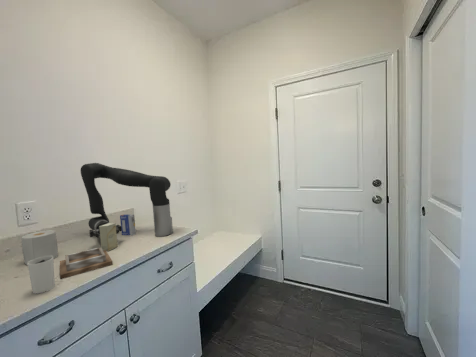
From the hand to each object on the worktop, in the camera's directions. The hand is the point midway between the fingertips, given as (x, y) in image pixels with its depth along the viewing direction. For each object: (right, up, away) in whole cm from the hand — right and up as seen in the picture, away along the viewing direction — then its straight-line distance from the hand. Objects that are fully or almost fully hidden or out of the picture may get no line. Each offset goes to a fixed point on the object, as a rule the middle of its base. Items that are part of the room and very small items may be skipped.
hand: (107, 233), depth 115 cm
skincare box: (+1, -7, -1) cm, 8 cm away
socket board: (+1, -8, -18) cm, 20 cm away
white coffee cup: (-1, -10, -37) cm, 38 cm away
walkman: (0, -6, +22) cm, 23 cm away
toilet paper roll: (-25, -9, -9) cm, 28 cm away
